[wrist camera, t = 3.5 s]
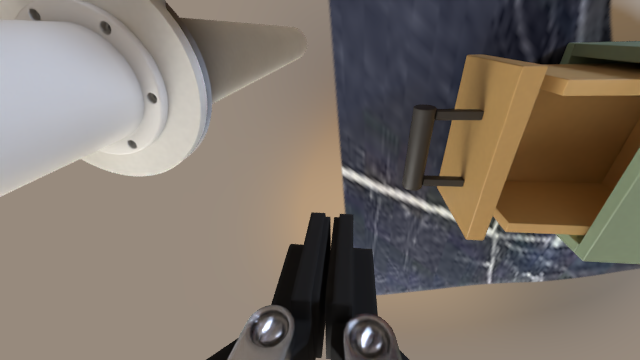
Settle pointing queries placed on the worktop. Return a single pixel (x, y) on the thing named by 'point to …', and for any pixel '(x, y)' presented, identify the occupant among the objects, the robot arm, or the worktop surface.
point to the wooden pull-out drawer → (530, 144)
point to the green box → (631, 190)
